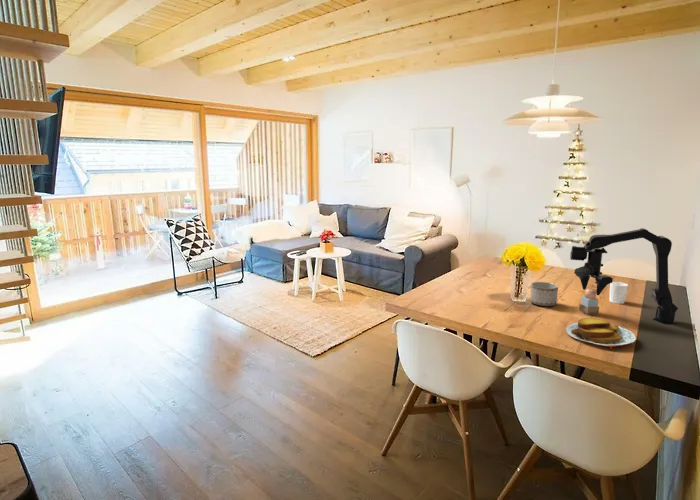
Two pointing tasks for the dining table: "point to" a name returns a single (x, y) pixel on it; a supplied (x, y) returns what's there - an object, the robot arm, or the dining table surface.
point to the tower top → (589, 302)
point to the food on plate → (600, 332)
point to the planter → (544, 293)
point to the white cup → (618, 292)
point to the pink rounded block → (590, 293)
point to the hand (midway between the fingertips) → (590, 292)
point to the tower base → (588, 310)
